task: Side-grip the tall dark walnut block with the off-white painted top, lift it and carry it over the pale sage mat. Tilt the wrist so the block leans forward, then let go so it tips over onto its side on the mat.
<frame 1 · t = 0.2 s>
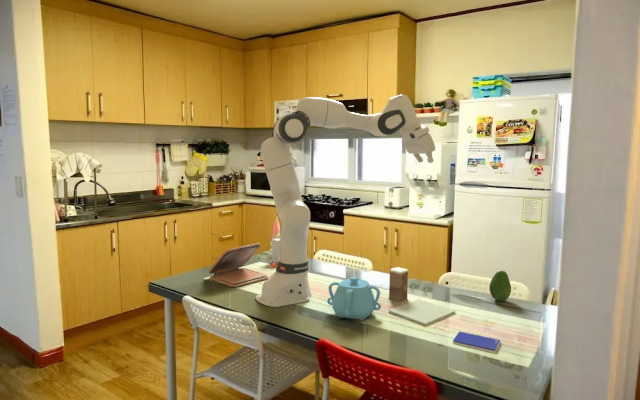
hand: (426, 162, 186), 53 cm above the table, tool tilted 30°, fingers open, 8 cm apart
decorative pot: (353, 314, 161), on the table
walnut block: (398, 298, 177), on the table
case: (238, 279, 203), on the table
sage mat: (421, 312, 163), on the table
skincare box: (278, 262, 230), on the table
fruit: (499, 301, 176), on the table
hard drive: (476, 345, 138), on the table
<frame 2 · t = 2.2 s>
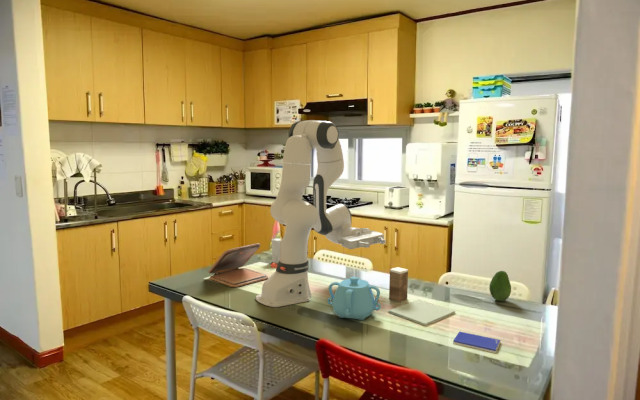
hand: (376, 243, 183), 20 cm above the table, tool horizontal, fingers open, 8 cm apart
nothing on the table moved.
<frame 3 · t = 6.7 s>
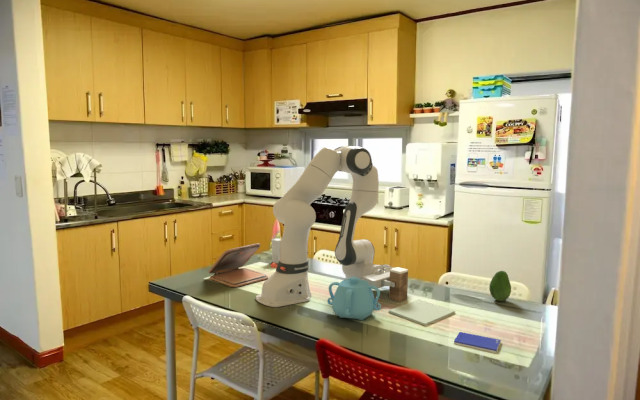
hand: (400, 283, 176), 7 cm above the table, tool horizontal, fingers closed on walnut block, 5 cm apart
walnut block: (398, 298, 177), on the table, touching gripper
everything else where it was.
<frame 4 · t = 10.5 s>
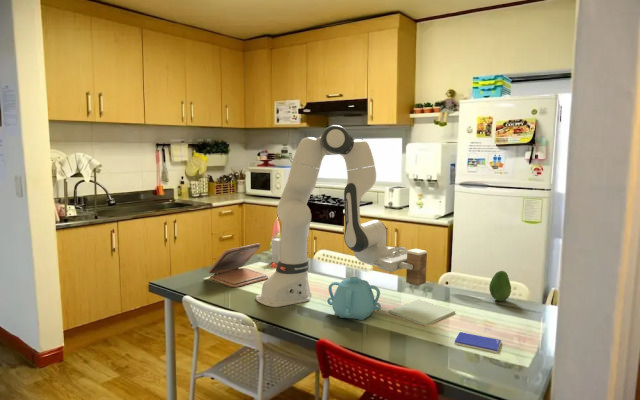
hand: (418, 265, 162), 17 cm above the table, tool horizontal, fingers closed on walnut block, 5 cm apart
walnut block: (416, 282, 164), point 10 cm above the table, touching gripper
everything else where it was.
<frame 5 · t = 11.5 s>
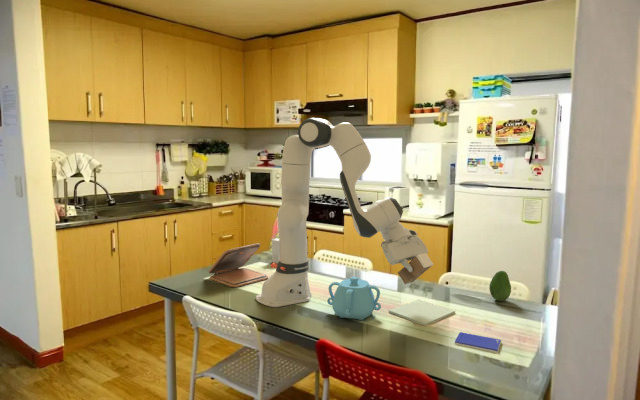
hand: (417, 269, 163), 16 cm above the table, tool tilted 45°, fingers closed on walnut block, 5 cm apart
walnut block: (405, 277, 167), point 11 cm above the table, tilted 45°, touching gripper
everything else where it was.
when the fingers open (8 cm above the table, at t = 14.2 s): walnut block moves 2 cm and tips over, resting on sage mat.
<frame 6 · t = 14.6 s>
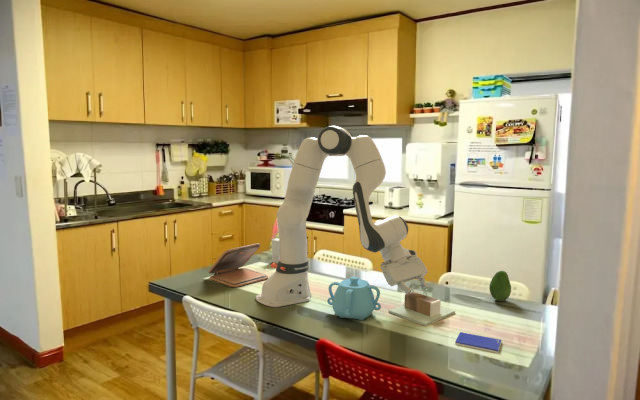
hand: (417, 290, 163), 8 cm above the table, tool tilted 45°, fingers open, 8 cm apart
walnut block: (408, 299, 167), point 3 cm above the table, tilted 90°, touching sage mat
everything else where it was.
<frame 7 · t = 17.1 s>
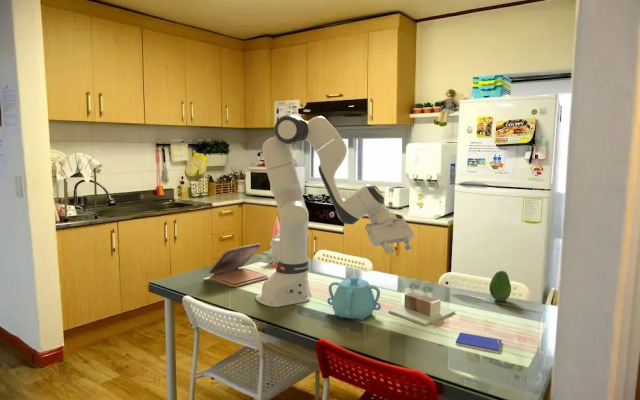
hand: (400, 251, 169), 21 cm above the table, tool tilted 45°, fingers open, 8 cm apart
nothing on the table moved.
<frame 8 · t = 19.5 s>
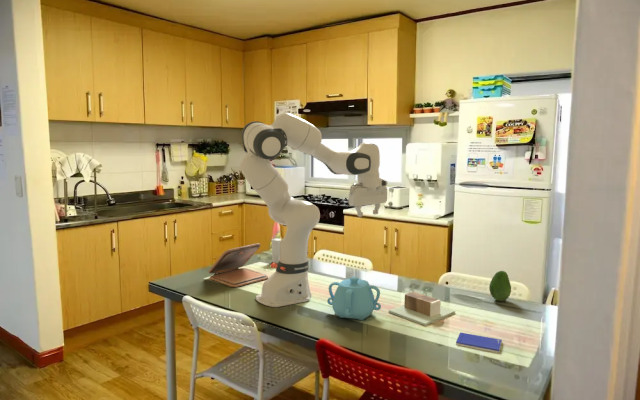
hand: (367, 215, 187), 31 cm above the table, tool pointing down, fingers open, 8 cm apart
nothing on the table moved.
at the end: walnut block tilted 90°; walnut block inside the target area (5.0 cm from its centre), point 3.3 cm above the table; the gripper is holding nothing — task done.
